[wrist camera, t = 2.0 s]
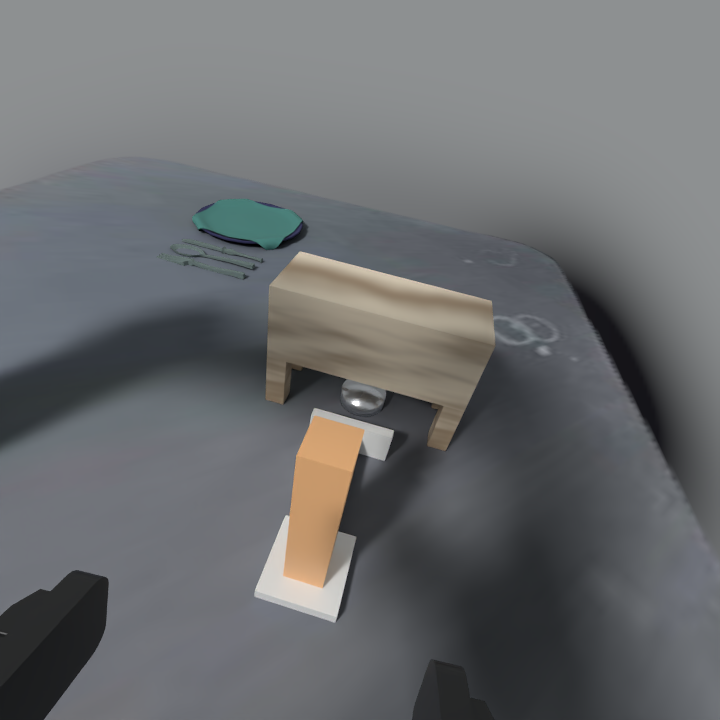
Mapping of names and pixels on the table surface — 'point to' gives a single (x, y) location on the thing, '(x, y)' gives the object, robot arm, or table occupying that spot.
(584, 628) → the table surface
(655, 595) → the table surface
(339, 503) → the orange post on base
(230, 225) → the cutlery set
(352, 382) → the steel disc
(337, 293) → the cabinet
